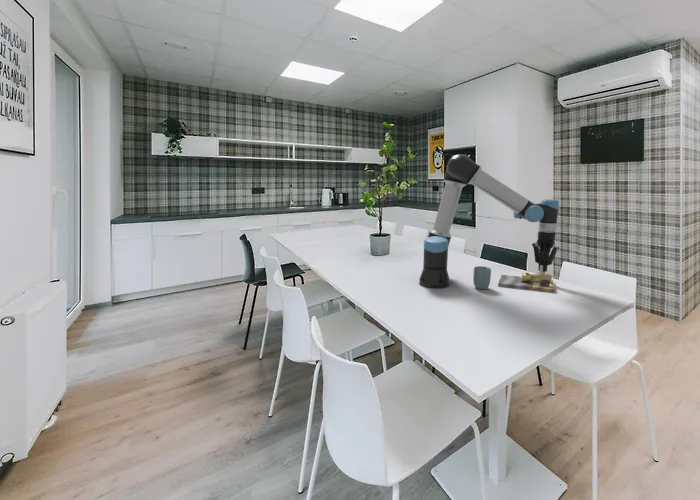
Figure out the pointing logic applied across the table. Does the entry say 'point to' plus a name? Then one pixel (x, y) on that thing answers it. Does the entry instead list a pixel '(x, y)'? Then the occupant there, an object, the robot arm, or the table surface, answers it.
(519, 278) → the door board
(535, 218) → the robot arm
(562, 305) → the table surface
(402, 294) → the table surface
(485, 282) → the cup
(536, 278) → the latch arm
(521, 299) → the table surface
